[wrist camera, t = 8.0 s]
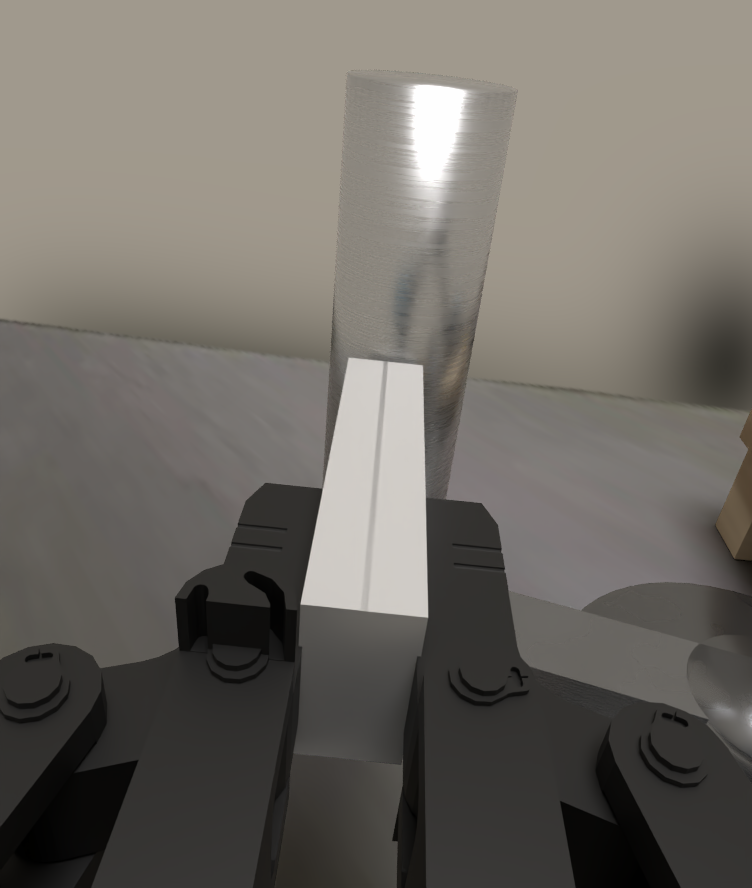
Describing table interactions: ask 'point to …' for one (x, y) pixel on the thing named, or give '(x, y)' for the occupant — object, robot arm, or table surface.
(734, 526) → the stand
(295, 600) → the robot arm
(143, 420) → the table surface
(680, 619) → the silver l-shaped piece
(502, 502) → the table surface
